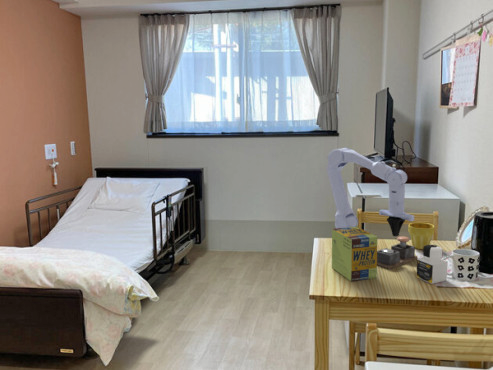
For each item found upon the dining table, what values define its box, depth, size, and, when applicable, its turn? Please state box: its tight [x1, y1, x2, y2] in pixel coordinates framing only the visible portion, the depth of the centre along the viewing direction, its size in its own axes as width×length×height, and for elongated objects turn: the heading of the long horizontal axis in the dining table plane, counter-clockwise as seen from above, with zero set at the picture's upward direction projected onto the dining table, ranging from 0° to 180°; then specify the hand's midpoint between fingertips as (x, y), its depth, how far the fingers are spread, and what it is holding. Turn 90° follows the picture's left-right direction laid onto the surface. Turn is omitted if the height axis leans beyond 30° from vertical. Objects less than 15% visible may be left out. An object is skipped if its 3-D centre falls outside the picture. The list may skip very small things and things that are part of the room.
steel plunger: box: [381, 248, 394, 255], centre depth 166 cm, size 4×4×4 cm
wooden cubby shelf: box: [377, 242, 418, 270], centre depth 169 cm, size 18×8×5 cm, turn 126°
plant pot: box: [407, 221, 435, 250], centre depth 185 cm, size 10×10×10 cm
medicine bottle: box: [416, 244, 448, 285], centre depth 150 cm, size 7×7×12 cm
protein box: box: [331, 226, 378, 282], centre depth 158 cm, size 10×15×16 cm
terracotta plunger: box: [396, 235, 410, 249], centre depth 172 cm, size 4×4×4 cm
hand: (395, 235), depth 168 cm, fingers closed
